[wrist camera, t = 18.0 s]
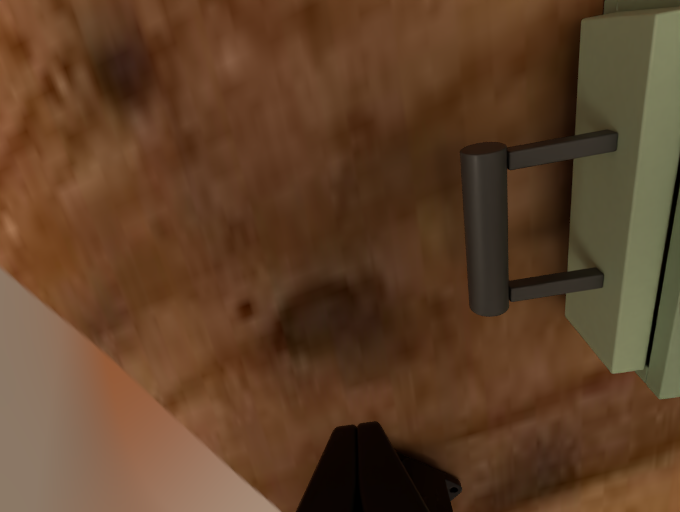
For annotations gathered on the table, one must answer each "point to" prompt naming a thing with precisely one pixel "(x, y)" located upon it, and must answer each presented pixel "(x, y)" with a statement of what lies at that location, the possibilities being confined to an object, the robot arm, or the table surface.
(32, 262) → the table surface
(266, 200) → the table surface
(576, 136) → the drawer
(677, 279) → the cabinet
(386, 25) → the table surface
